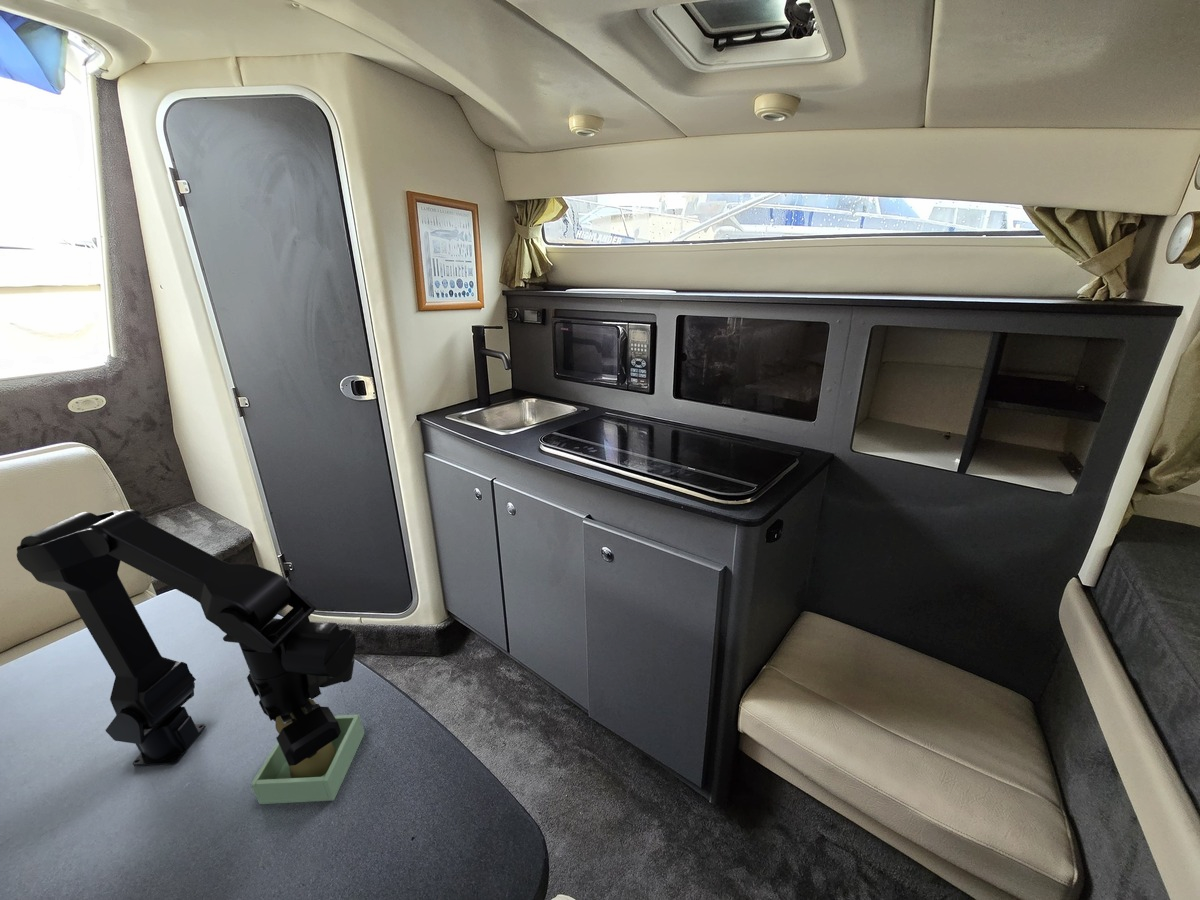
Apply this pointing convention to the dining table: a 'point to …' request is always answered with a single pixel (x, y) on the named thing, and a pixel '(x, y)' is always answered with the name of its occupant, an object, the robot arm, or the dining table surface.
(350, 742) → the tray
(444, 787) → the dining table surface
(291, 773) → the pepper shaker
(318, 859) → the dining table surface
